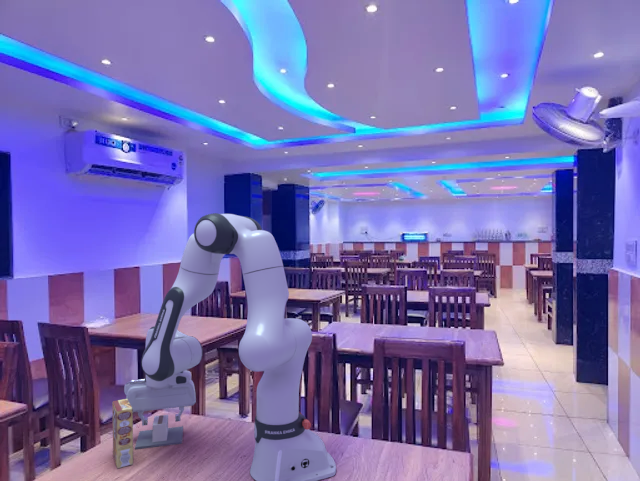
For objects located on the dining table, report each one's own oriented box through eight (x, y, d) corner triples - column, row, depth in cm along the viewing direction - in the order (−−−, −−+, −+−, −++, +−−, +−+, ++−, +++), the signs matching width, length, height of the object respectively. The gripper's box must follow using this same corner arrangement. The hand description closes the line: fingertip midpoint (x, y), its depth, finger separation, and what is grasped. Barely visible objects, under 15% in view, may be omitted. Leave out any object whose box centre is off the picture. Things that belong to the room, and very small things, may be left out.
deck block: (166, 440, 128) (166, 423, 128) (152, 442, 127) (152, 424, 127) (168, 430, 135) (168, 414, 135) (154, 432, 133) (154, 415, 134)
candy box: (133, 464, 115) (133, 407, 115) (116, 469, 113) (116, 411, 113) (127, 451, 122) (128, 397, 122) (111, 455, 120) (111, 400, 120)
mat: (183, 428, 138) (183, 426, 138) (182, 443, 127) (182, 441, 127) (139, 433, 134) (139, 431, 134) (134, 449, 124) (134, 447, 124)
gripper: (122, 384, 125) (122, 431, 125) (195, 377, 130) (195, 422, 130) (125, 377, 131) (126, 423, 131) (195, 371, 136) (195, 414, 136)
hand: (161, 422), depth 130 cm, fingers open, 8 cm apart
